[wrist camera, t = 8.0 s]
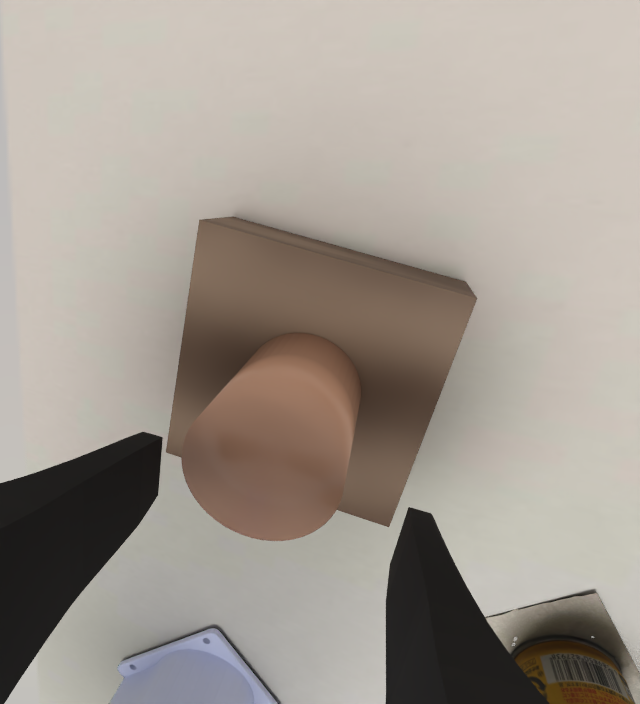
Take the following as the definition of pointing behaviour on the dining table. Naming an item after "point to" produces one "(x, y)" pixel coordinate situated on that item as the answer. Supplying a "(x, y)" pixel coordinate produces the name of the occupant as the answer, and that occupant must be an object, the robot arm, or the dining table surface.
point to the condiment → (570, 651)
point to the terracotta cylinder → (277, 440)
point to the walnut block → (331, 324)
